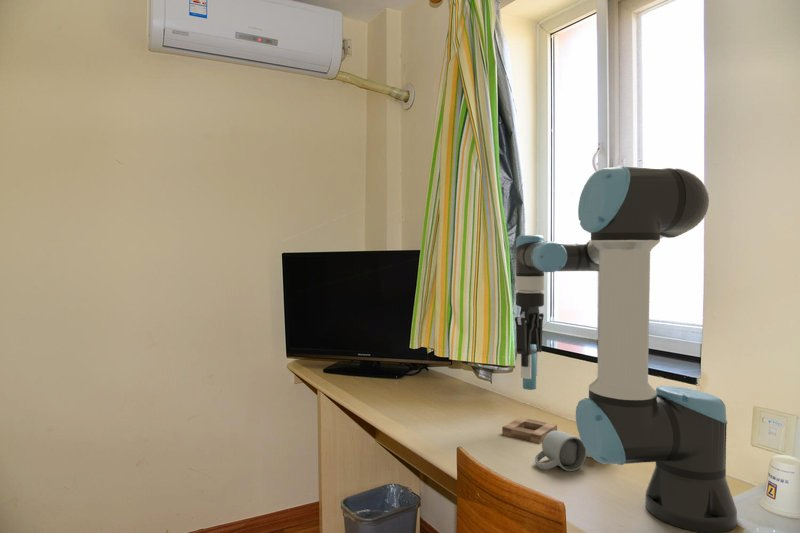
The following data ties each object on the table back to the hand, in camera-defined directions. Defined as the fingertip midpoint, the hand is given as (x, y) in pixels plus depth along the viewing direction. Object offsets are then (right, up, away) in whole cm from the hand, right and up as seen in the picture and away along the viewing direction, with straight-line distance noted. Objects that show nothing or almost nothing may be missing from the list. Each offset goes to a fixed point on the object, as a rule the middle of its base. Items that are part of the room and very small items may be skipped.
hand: (529, 376), depth 144 cm
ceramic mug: (+1, -16, -22) cm, 28 cm away
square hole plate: (0, -16, 0) cm, 16 cm away
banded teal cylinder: (0, -3, 0) cm, 3 cm away
